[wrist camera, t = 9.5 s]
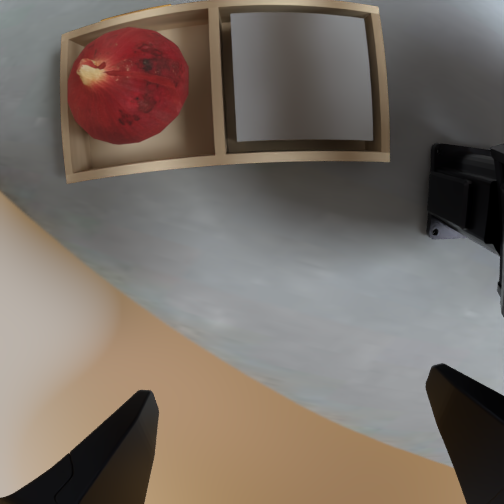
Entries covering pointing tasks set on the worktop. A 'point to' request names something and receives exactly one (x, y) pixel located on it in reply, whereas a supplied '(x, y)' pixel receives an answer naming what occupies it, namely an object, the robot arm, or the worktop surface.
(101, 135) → the red rounded piece
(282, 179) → the worktop surface
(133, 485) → the robot arm
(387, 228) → the worktop surface
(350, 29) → the wooden compartment tray
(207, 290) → the worktop surface
